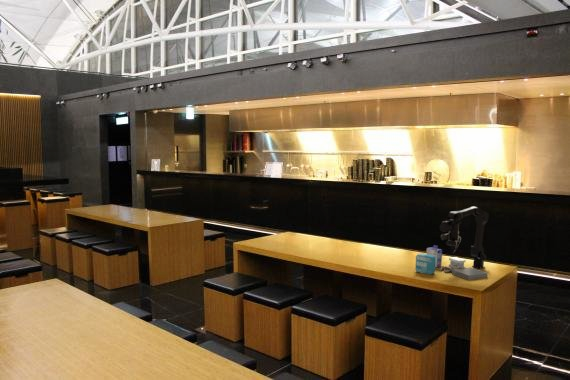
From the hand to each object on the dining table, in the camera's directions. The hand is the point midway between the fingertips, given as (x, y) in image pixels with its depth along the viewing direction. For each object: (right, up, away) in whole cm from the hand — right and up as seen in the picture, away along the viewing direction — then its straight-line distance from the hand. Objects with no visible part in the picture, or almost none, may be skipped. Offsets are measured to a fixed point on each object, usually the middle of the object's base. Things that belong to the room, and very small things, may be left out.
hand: (453, 252), depth 327 cm
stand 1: (+3, -12, +3) cm, 13 cm away
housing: (+3, -10, +2) cm, 11 cm away
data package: (-20, -13, -3) cm, 24 cm away
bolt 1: (-8, -12, +2) cm, 15 cm away
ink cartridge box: (-9, -11, +15) cm, 21 cm away
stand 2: (+7, -14, -10) cm, 19 cm away
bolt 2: (-5, -13, -3) cm, 14 cm away
